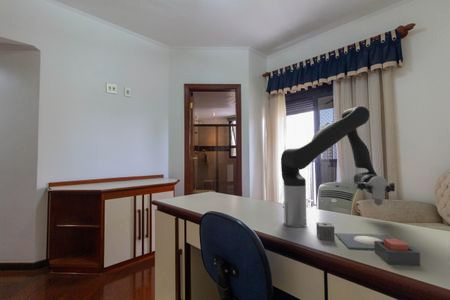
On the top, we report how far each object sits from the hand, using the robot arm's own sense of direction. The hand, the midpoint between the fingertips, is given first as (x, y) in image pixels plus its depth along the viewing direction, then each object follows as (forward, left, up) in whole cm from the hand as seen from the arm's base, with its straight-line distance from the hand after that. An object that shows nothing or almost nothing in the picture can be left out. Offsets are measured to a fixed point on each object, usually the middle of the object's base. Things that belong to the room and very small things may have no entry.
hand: (379, 189), depth 88 cm
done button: (-4, -18, -15) cm, 24 cm away
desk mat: (-6, -5, -18) cm, 19 cm away
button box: (-4, -18, -18) cm, 26 cm away
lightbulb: (+1, +3, -7) cm, 7 cm away
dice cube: (-20, -2, -18) cm, 27 cm away
